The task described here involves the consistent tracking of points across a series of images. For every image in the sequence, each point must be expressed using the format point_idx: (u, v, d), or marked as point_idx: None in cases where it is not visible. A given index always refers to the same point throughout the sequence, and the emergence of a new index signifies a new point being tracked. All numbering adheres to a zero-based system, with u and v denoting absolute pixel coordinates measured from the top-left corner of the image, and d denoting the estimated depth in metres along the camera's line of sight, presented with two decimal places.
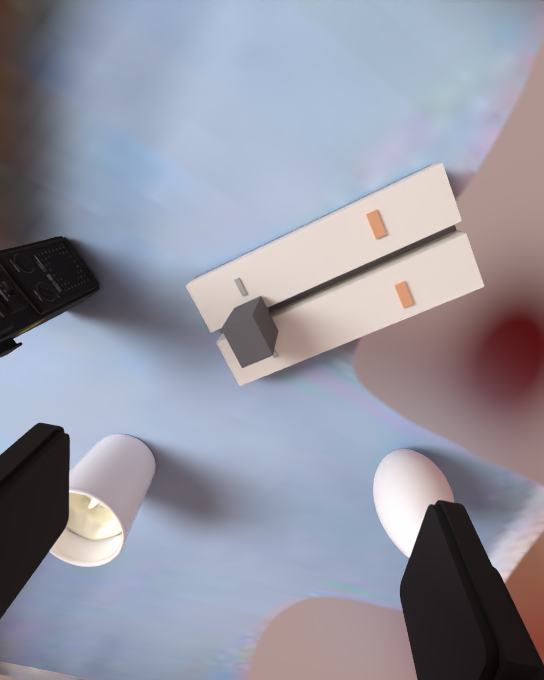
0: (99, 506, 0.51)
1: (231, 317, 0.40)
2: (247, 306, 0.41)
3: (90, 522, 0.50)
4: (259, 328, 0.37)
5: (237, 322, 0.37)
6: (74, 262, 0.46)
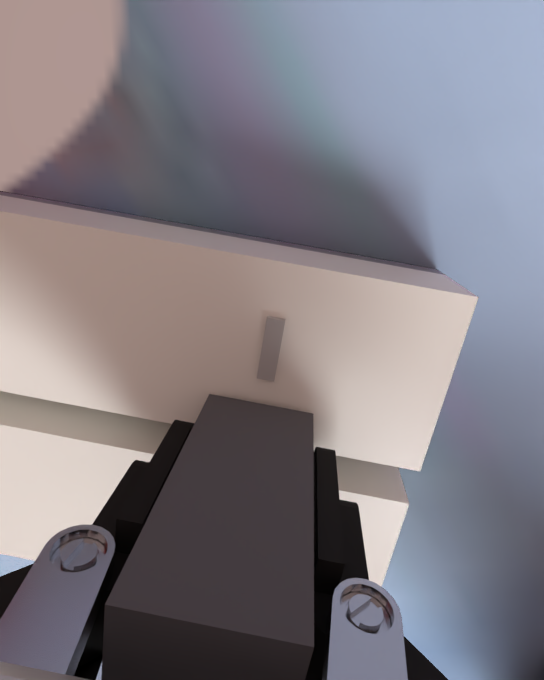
0: None
1: None
2: None
3: None
4: None
5: None
6: None
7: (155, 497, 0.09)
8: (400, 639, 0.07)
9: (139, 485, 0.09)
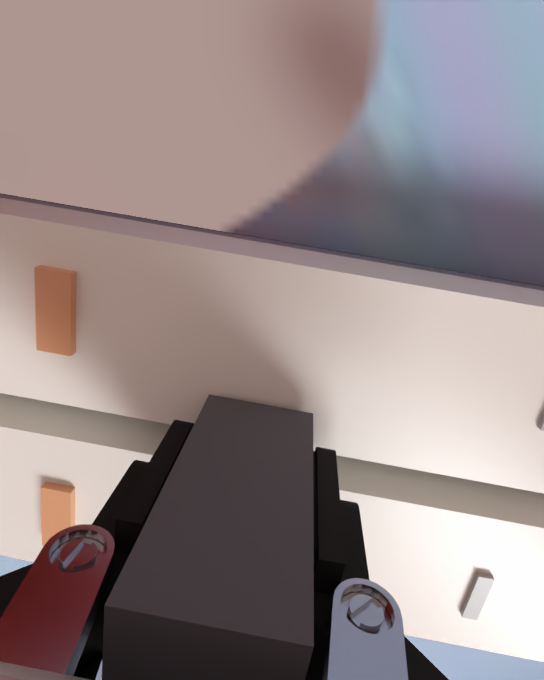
0: None
1: None
2: None
3: None
4: None
5: None
6: None
7: (154, 498, 0.09)
8: (401, 639, 0.07)
9: (139, 485, 0.09)
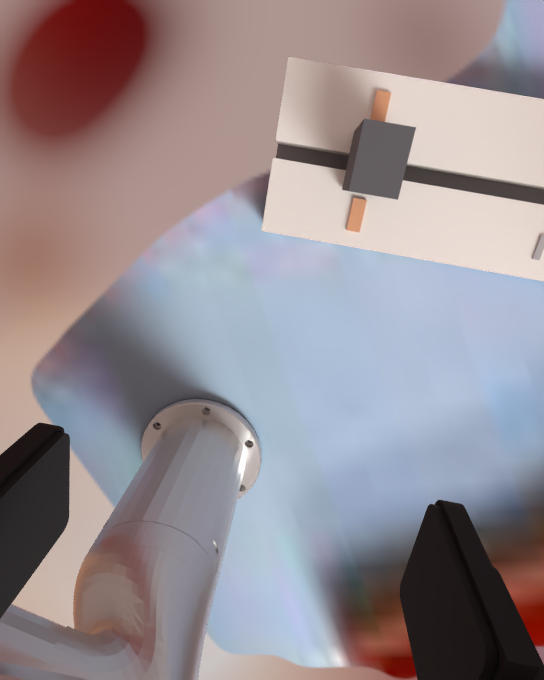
0: None
1: None
2: None
3: None
4: (353, 167, 0.26)
5: (372, 193, 0.27)
6: None
7: None
8: None
9: None
